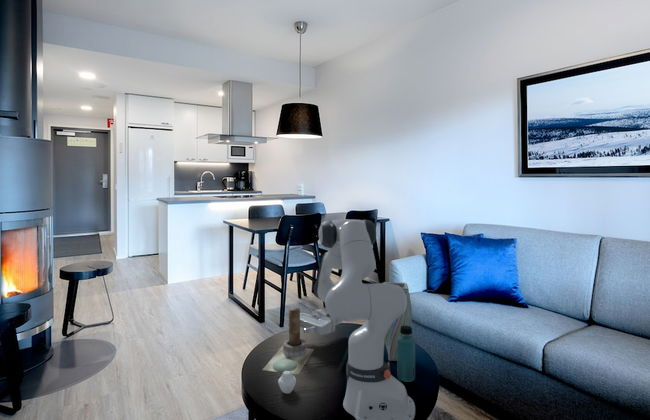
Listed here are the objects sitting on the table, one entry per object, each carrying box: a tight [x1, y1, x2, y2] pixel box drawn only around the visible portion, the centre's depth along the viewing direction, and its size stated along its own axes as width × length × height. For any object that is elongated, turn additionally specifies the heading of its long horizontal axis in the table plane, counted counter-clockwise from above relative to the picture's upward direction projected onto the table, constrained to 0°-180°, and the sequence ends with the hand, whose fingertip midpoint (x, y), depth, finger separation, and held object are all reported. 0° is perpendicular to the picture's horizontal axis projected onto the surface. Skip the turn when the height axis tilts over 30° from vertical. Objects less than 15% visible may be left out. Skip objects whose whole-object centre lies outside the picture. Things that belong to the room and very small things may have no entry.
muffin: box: [277, 371, 297, 394], centre depth 128 cm, size 6×6×7 cm
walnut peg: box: [288, 307, 301, 346], centre depth 154 cm, size 4×4×18 cm
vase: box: [382, 281, 413, 362], centre depth 152 cm, size 14×14×30 cm
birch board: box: [262, 338, 315, 375], centre depth 149 cm, size 14×22×6 cm, turn 166°
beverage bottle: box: [396, 326, 416, 383], centre depth 134 cm, size 6×7×20 cm
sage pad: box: [273, 359, 296, 373], centre depth 143 cm, size 9×9×1 cm
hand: (296, 328), depth 155 cm, fingers open, 8 cm apart
